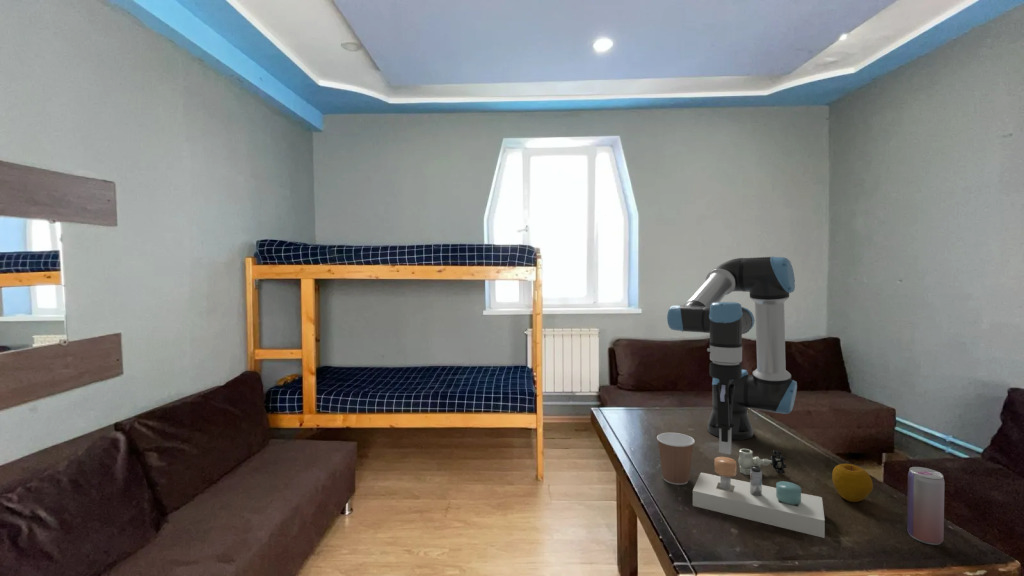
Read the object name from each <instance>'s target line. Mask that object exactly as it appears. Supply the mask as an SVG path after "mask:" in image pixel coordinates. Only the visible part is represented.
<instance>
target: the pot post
mask: <svg viewBox="0 0 1024 576" xmlns="http://www.w3.org/2000/svg"><path fill="white" fill-rule="evenodd" d="M749 482H750V494H752V495H754V496H762V485H763V471H762V469H761V467H758V466H752V468H751V469H750V475H749Z"/></svg>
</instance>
